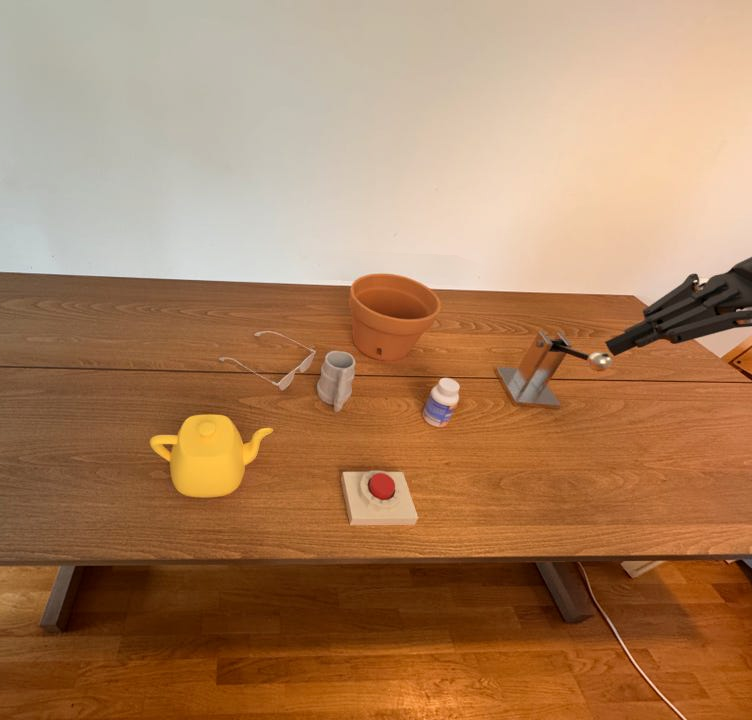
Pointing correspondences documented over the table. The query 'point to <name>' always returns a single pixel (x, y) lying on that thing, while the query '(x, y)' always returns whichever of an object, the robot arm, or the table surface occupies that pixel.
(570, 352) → the lever
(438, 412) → the pill bottle
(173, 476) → the teapot
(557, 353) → the bracket
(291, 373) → the eyeglasses
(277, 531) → the table surface
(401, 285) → the flower pot
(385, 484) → the button
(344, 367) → the mug
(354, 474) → the button box
